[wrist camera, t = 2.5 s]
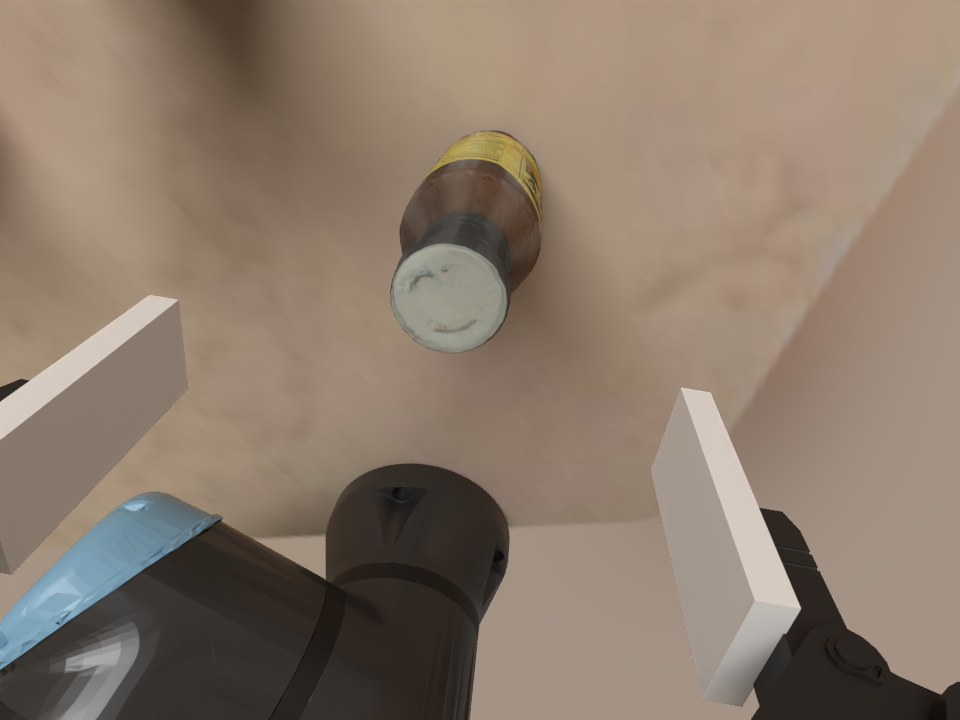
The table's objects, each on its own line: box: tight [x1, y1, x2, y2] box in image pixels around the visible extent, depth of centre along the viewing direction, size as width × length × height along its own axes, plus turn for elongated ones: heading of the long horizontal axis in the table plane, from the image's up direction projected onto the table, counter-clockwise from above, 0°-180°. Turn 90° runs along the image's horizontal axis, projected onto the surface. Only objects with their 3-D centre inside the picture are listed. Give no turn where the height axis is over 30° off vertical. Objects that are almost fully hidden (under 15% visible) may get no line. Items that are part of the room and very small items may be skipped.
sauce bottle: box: [390, 131, 542, 353], centre depth 30 cm, size 6×6×20 cm
